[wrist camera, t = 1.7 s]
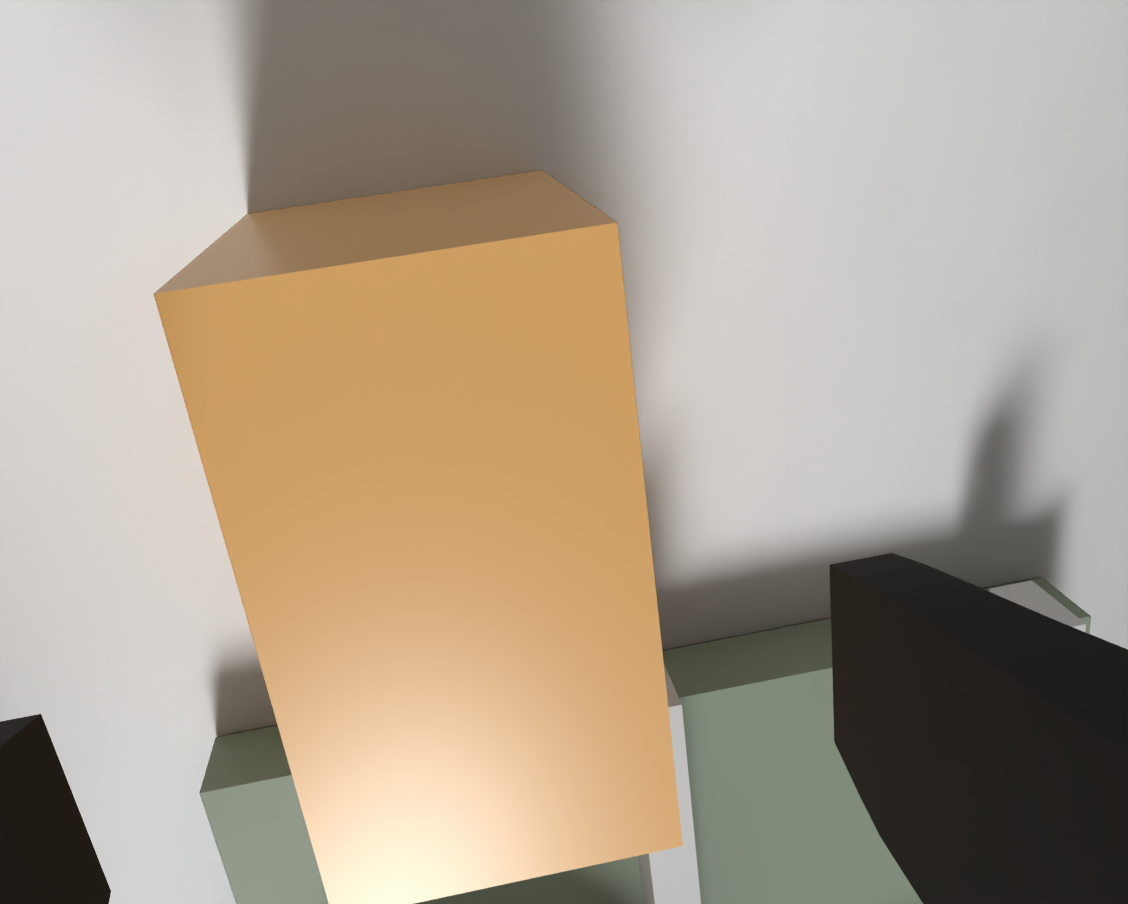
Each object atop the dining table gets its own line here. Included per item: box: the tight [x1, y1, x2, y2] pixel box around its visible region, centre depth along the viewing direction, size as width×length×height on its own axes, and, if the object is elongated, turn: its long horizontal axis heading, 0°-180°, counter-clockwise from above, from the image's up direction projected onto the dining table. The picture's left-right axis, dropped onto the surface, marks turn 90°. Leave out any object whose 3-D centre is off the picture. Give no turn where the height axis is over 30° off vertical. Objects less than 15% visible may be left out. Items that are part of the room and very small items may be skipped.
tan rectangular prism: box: [154, 170, 683, 904], centre depth 14 cm, size 4×8×6 cm, turn 7°
